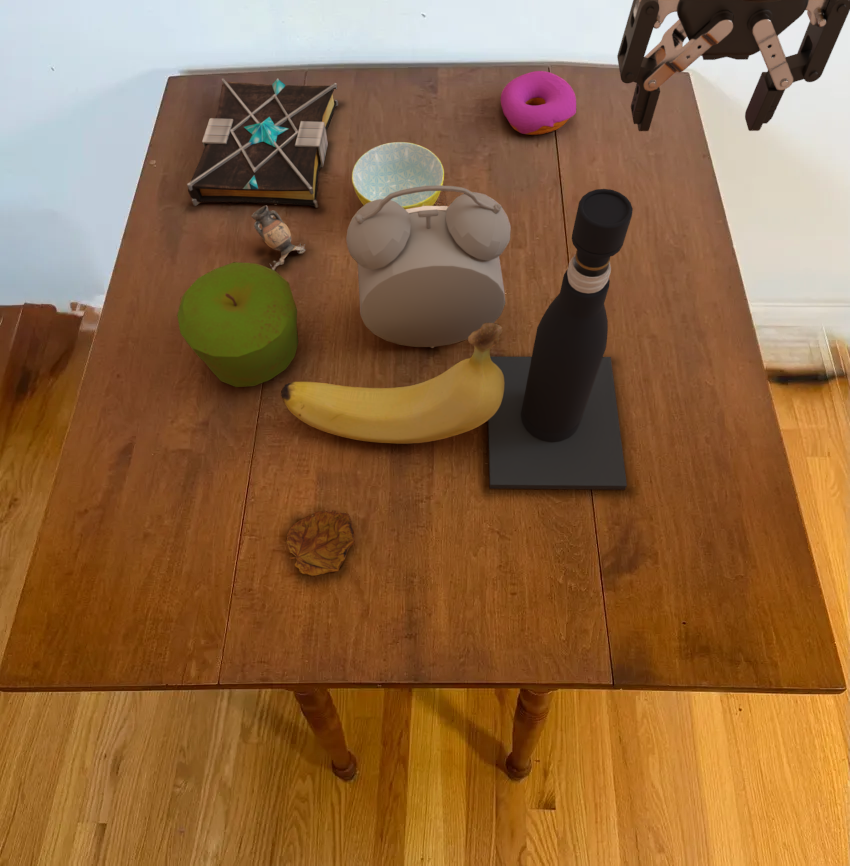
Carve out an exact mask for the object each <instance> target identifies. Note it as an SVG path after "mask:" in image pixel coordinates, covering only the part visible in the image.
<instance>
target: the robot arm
mask: <svg viewBox="0 0 850 866" xmlns="http://www.w3.org/2000/svg"><path fill="white" fill-rule="evenodd" d="M805 12H806V14H807V18H808V20H809V23H808V25H807V27H806V30H805V33H804V35H803V37H802V40H801V42H800V45H799V48H798V50H797V53H794V54H790V55H788V56H786V54H785V52H784V48H783V46H782V43H781V41H780V38H779V36H780V35H781V34H782V33H783V32H784V31H786V29H788V28H789V27H790V26H791V25H792V24H794V23H795V22H796V21H797V20H798V19H799V18H800V17H801V16H802V15H803V14H804V13H805ZM671 13H676V14H677V18H678V19H677V21H675V22H674V23H673V24H672V25H671V26H670V27H669V28H668V29H667V30H666V31H665V32H664V34H663V35H662V37H661V40H660V41H659V42H658V43H657V45H655V46H654V47H653V48H652V49H651V50H650V51H649V52H648V53H647V54H646V52H647V49H648V45H649V43H650V39H651V36H652V33H653V30H655V29H656V30H657V29H659V28H660V27H661V26H662V24H663V23H664V21H665V19H666V18H667V17H668V16H669V15H670V14H671ZM849 13H850V0H632V4H631V7H630V11H629V14H628V17H627V20H626V24H625V28H624V31H623V33H622V34H623V35H622V38H621V40H620V41H621V42H620V45H619V49H618V52H617V55H616V58H617V64H618V70H619V74H620V75H619V76H620V80H621V82H622V83H624V84H631V83H635V87H634V92H633V96H632V100H631V103H630V111H631V117H632V123H633V125H637V130H638V132H649V131H650V128H651V126H652V121H653V119H654V114H655V111H656V107H657V104H658V100H659V98H660V94H661V89H660V87H661V86H662V85H663V84H665V82H666V81H668V80H669V79H670V78H672V76H673V75H675V74H676V73H683V72H684V71H685V70H686V69H687V68H688V67H690V66H691V65H692V64H693V63H694V62H695V61H697V60H698V59H699V58H700V57H702V60H703V61H716V60H719V59H725V58H729V59H733V60H737V61H738V60H739V61H741V60H744V61H745V60H746V61H747V60H749V58H750V56H752V55H755V54H757V53H760V54H761V56H762V60H763V61H764V64H765V66H766V69H767V71H762V72H761V73H760V76H759V78H758V81H757V83H756V85H755V88H754V90H753V93H752V95H751V97H750V99H749V102H748V105H747V107H746V110H745V113H744V119H745V123H746V126H747V130H748V131H749V132H759V131H760V130H761V129H762V127H763V124H768V123H769V122H770V121H771V120H772V119H773V117H774V115H775V112H776V110H777V108H778V106H779V104H780V102H781V100H782V98H783V95H784V93H785V91H786V90H787V89H789V88H790V87H791V86H792V85H793V84H794V83H796V82H799V81H802V80H804V81H805V82H806V83H813V82H815V81H818V80H819V79H820V78H821V77H822V76H823V73H824V71H825V68H826V66H827V64H828V61H829V60H830V57H831V55H832V53H833V49H834V48H835V45H836V43H837V41H838V39H839V36H840V34H841V32H842V29H843V27H844V25H845V23H846V20H847V18H848V15H849ZM686 38H687V39H688V41H687V42H686V43H685V44H684V41H685V40H686ZM683 44H684V45H683Z"/></svg>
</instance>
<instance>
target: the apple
mask: <svg viewBox="0 0 850 866" xmlns="http://www.w3.org/2000/svg"><path fill="white" fill-rule="evenodd" d="M177 323H178V329H179V333H180V335H181V337H182V338H183V339H184V341H185V342H186V343H187V345H188V346H189V347H190V349H191V350H192V351H193V352H194V354H196V356H197V357H198V358H199V359H200V360H201V361H203V362H204V363H205V365H206V366H207V367H208V369H209V370H210V371H211V373H213V374H214V375H215V376H216V378H217V379H218V380H219V381H220V382H222V383H225V384H227V385H230V386H233V387H234V388H244V387H245V388H246V387H256V386H258V385H261V384H264V383H266V382H268V381H270V380H272V379H274V378H275V377H277V376H278V375H280V374H281V373H282V372H283V371H285V370H287V368H288V367H289V365H290V364H291V363H292V361H293V360H294V358H295V357H296V353H297V349H298V345H299V335H298V334H299V333H298V327H297V326H298V308H297V304H296V302H295V299H294V294H293V292H292V289H291V285H290V282H289V281H287V279H285V278H284V277H283V276H282V275H280V273H279V272H278V271H276V269H274V270H273V269H272V268H270V267H267V266H265V265H262V264H260V263H257V262H239V261H234V262H231V263H230V262H229V263H228V264H225V265H222V266H219V267H217V268H214V269H212V270H210V271H209V272H207V273H204V274H203V275H201V276H199V277H197V278H196V280H195V281H194V282H193V283H192V284H191V285H190V286H189V287H188V289H186V291H185V292H184V293H183V294H182V296H181V297H180V302H179V306H178V310H177Z"/></svg>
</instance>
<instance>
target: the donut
mask: <svg viewBox="0 0 850 866" xmlns="http://www.w3.org/2000/svg"><path fill="white" fill-rule="evenodd" d="M500 106H501V110H502V112H503V113H502V114H503V116H504V117H505V118H506V119H507V121H508V124H509V125H510V126H511V127H512V129H514V130H515V131H516V132H518V133H520V134H523V135H531V136H533V135H544V134H548V133H551V132H554V131H556V130H558V129H560V128H562V127H563V126H564V125H565V124H566V123H567V122H568V121H569V120H570V119H571V118H572V117H573V116H574V115H576V113H577V97H576V93H575V91H574V89H573V88H572V86H571V85H570V83H568V82H567V80H565V79H564V78H562V77H561V76H559V75H558V74H556V73H553V72H549V71H545V70H535V71H530V72H527V73H523V74H521V75H519V76H516V77H515V78H513V79H512V80H510V81H509V82H508V83H507V84H506V85H505V86H504V88H503V89H502V91H501V94H500Z"/></svg>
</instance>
